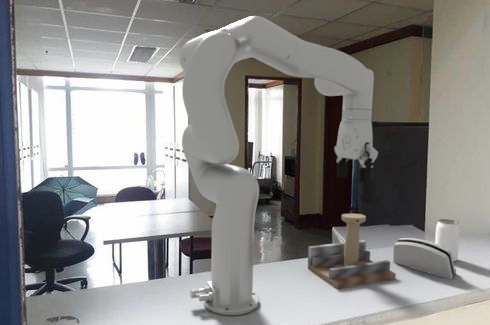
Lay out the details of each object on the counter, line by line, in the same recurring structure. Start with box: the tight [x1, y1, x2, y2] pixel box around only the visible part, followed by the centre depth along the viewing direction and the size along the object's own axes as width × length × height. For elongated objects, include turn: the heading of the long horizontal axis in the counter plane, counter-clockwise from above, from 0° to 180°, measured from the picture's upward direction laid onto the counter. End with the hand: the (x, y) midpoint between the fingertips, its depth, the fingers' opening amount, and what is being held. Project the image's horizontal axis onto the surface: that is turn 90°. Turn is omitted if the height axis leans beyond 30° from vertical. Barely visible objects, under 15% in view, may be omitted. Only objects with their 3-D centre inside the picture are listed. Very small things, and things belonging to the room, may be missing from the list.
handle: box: [341, 213, 367, 266], centre depth 106 cm, size 5×6×15 cm
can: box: [434, 218, 461, 263], centre depth 120 cm, size 6×6×12 cm
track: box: [307, 239, 397, 290], centre depth 107 cm, size 19×14×6 cm
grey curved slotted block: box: [392, 237, 457, 280], centre depth 111 cm, size 17×5×10 cm, turn 44°
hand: (352, 179), depth 105 cm, fingers open, 9 cm apart
